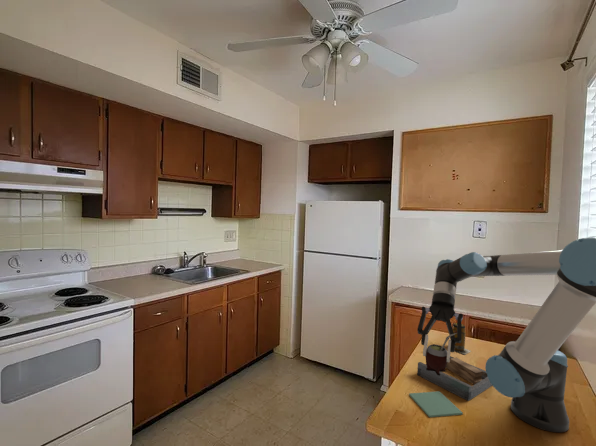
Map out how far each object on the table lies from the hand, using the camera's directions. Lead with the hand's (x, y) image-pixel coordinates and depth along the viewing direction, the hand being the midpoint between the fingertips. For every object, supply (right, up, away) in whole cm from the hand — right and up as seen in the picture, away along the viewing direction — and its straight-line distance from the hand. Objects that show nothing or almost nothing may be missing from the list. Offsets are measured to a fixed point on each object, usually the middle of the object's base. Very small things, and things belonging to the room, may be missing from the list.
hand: (435, 357), depth 104 cm
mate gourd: (+2, -6, +3) cm, 7 cm away
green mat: (+1, -17, +3) cm, 18 cm away
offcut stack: (+22, -18, +24) cm, 37 cm away
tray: (+17, -17, +21) cm, 32 cm away
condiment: (+32, -17, +48) cm, 60 cm away
